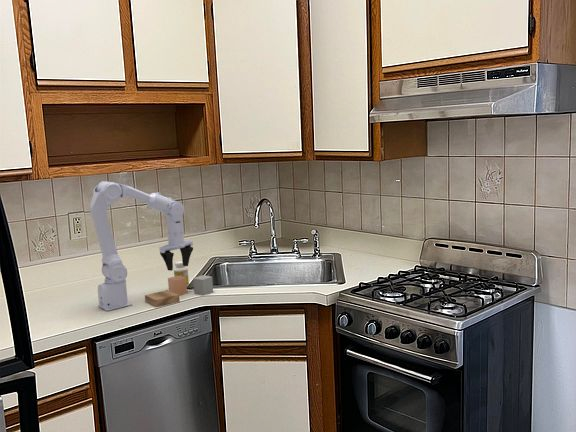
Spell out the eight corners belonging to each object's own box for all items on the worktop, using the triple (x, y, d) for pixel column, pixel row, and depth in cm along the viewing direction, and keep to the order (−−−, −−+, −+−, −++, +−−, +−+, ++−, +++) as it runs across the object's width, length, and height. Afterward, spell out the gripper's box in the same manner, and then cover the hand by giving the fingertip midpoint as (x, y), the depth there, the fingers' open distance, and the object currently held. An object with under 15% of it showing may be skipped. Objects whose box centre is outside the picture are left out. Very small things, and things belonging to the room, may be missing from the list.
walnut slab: (156, 308, 202) (155, 300, 201) (145, 303, 209) (144, 295, 208) (179, 302, 207) (179, 294, 207) (168, 297, 214) (167, 290, 214)
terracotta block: (175, 295, 215) (174, 280, 214) (169, 293, 219) (167, 277, 218) (187, 293, 218) (186, 277, 217) (180, 290, 222) (179, 275, 221)
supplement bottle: (191, 285, 229) (190, 261, 228) (182, 288, 225) (180, 264, 223) (181, 283, 232) (180, 260, 231) (172, 286, 228) (170, 263, 226)
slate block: (203, 295, 214) (202, 279, 213) (194, 293, 217) (193, 278, 216) (213, 292, 218) (212, 276, 217) (203, 290, 221) (202, 275, 220)
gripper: (167, 236, 208) (169, 273, 210) (197, 230, 219) (199, 265, 221) (154, 235, 212) (157, 271, 214) (184, 228, 224) (187, 263, 226)
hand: (178, 268), depth 218 cm, fingers open, 7 cm apart
